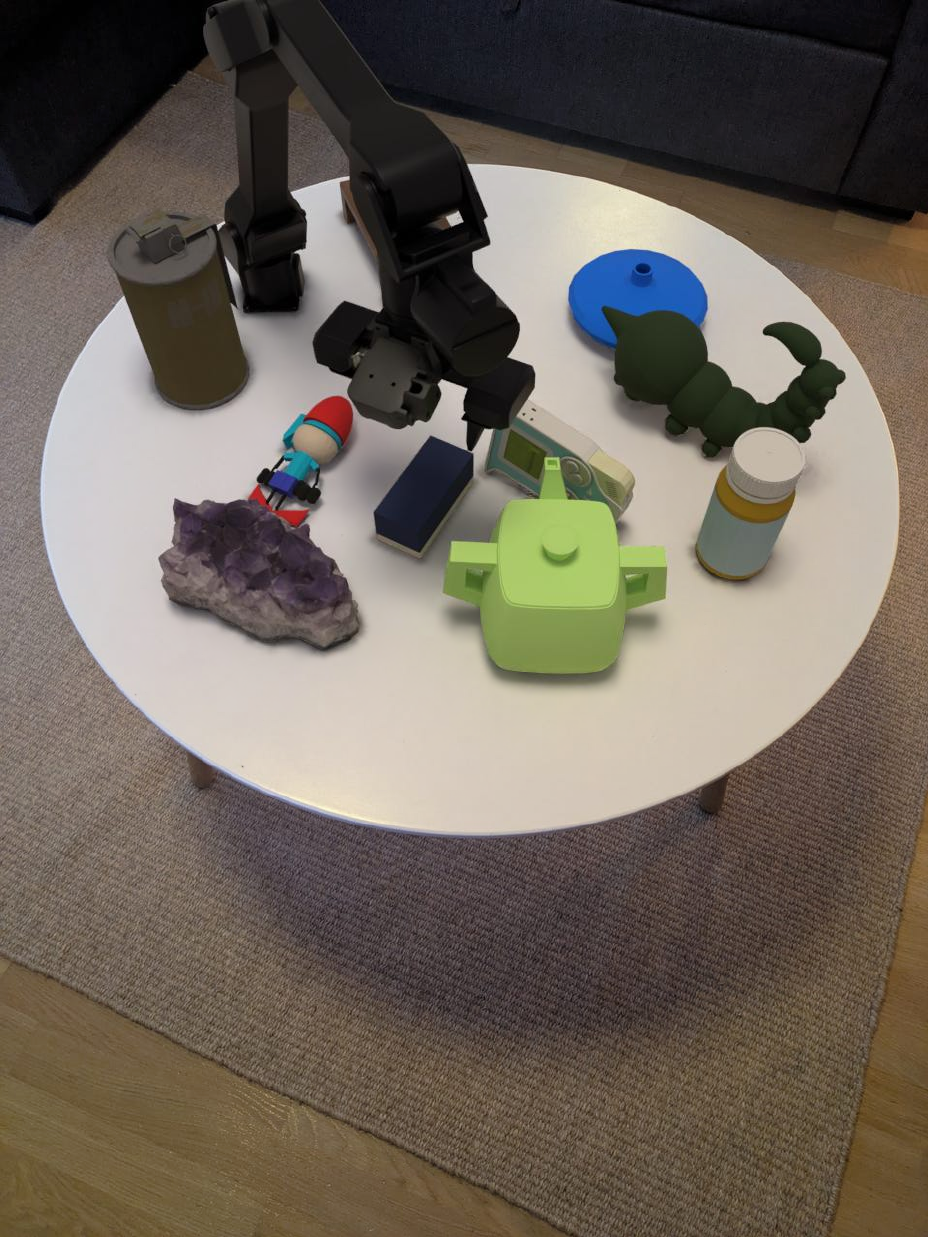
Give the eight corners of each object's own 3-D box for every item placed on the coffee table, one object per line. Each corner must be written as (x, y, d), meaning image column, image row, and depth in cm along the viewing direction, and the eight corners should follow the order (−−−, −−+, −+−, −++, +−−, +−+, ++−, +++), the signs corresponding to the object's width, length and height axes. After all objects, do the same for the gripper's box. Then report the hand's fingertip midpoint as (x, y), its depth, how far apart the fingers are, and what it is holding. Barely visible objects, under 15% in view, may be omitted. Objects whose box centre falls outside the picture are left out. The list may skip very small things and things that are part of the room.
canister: (187, 425, 108) (134, 274, 90) (137, 371, 112) (77, 217, 94) (271, 377, 111) (235, 223, 94) (219, 326, 115) (176, 170, 98)
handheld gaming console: (602, 552, 101) (481, 473, 104) (616, 533, 103) (496, 455, 105) (630, 491, 91) (496, 405, 94) (646, 471, 93) (513, 387, 95)
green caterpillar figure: (802, 457, 107) (612, 337, 113) (879, 331, 90) (650, 198, 96) (757, 513, 103) (563, 386, 109) (828, 392, 87) (594, 250, 93)
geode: (391, 577, 98) (380, 529, 88) (336, 679, 94) (319, 640, 84) (211, 503, 101) (183, 449, 92) (151, 599, 97) (115, 553, 88)
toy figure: (307, 538, 102) (379, 423, 106) (292, 514, 97) (368, 395, 102) (247, 513, 104) (320, 401, 109) (230, 488, 100) (306, 373, 104)
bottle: (771, 535, 100) (816, 434, 87) (759, 591, 96) (803, 495, 84) (703, 516, 101) (737, 414, 88) (687, 571, 98) (720, 474, 85)
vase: (709, 282, 119) (722, 232, 112) (694, 378, 111) (707, 329, 105) (578, 262, 120) (584, 211, 114) (554, 355, 113) (559, 306, 107)
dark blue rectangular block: (420, 559, 99) (418, 532, 95) (376, 539, 100) (373, 511, 96) (473, 481, 103) (473, 453, 100) (431, 463, 105) (430, 434, 101)
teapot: (449, 519, 101) (446, 432, 90) (648, 523, 101) (670, 436, 89) (441, 682, 92) (437, 607, 80) (660, 687, 91) (687, 613, 80)
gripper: (261, 322, 77) (294, 456, 91) (477, 400, 73) (478, 530, 86) (336, 238, 82) (356, 376, 96) (542, 306, 78) (533, 442, 91)
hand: (427, 431), depth 92 cm, fingers open, 9 cm apart
